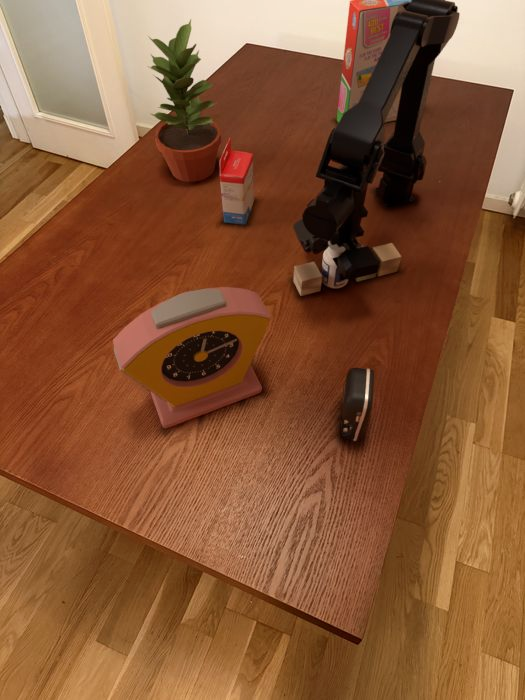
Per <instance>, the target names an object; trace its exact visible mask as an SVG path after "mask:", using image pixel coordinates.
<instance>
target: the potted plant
mask: <svg viewBox="0 0 525 700" xmlns="http://www.w3.org/2000/svg"><path fill="white" fill-rule="evenodd" d="M191 32H192V19H189V22H188V23H187V24H183V25H181V26H180V27H179V29H178V31H177V32H176V36H175V37H174V38H171V39H170V40H169V41H168V44H166V43H165V42H164V41H162V40H160V39H158V38H151V37H150V36H149V35H147V36H148V38H149V40H151V42H153V44H154V45H155V46H156V47H157V48H158V49H159V50H160V52H161V53H163V55H164V56H165V57H166V58H165V57H163V56H154V55H153V54H151V53H150V56H151V57H152V62H153V64H154V65H151V66H148V68H149V69H151V70H153V71H155V72H157V73H159V74H161V75H162V76H163V78H162V79H161V78H160V77H158V76H155V75H154V74H152V76H154V77H155V78H156V79H157V80H158V81H159V82H160V83H161V84H162V85H163V87H164V90H165V91H166V93H167V95H168V97H166V99H167V100H168V101H170V102H172V103H173V104H169V103H161V104H159V107H157V108H159V109H161V110H166V111H171V112H174V113H175V114H176V115H175V116H174V115H172V114H169V113H166V112H162V111H161V112H160V111H159V112H156V113H155V114H153V113H150V115H151V116H153V117H154V118H155V119H157V120H159V121H161V122H163V123H162V124H160V125H159V126H158V127H157V129H156V130H155V132H154V140H155V145H156V148H157V150H158V151H159V153H161V154H162V156H163V158H164V160H165V162H166V164H167V166H168V168H169V171H170V172H171V174H172V176H173V177H174V178H175V179H177V180H178V181H182V182H187V183H188V182H189V183H191V182H199V181H204V180H206V179H207V178H209V177H210V176H211V175H212V174H213V173H214V171H215V168H216V162H217V156H218V151H219V148H220V146H221V145H222V133H221V127H220V126H219V124H218V123H217V122H216V121H214V120H213V118H212V117H211V116H201V113H202V112H203V111H205V110H207V109H209V108H212V107H214V106H215V105H218V102H215V103H214V102H213V100H206V101H203V102H202V100H200V95H201V94H203V93H205V92H206V91H208V90H210V89H211V88H212V87H214V85H216V82H215V83H213V84H211V83H210V82H209V81H207V80H206V79H202V80H199V81H198V82H196V83H195V84H194V77H191V76H192V74H193V72H194V69H195V67H196V65H197V64H199V62H200V61H201V60H202V58H201V57H199V52H200V50H197V52H196V53H195V54H194V53H193V52H194V50H195V48H196V47H197V43H194V44H193V46H191V47H188V43H189V39H190V36H191ZM187 47H188V48H187ZM189 88H190V89H189Z"/></svg>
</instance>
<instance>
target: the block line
mask: <svg viewBox="0 0 525 700" xmlns="http://www.w3.org/2000/svg"><path fill="white" fill-rule="evenodd" d="M372 250H373V251H374V253H375V254H376V256H377V257H378V259H379V260H380V266H379V270H378V272H377V273H375V274H371V275H367V276H363V277H359V278H355V279H354V280H355V282H356V283H358V282H361V281H365V280H369V279H373V278H376V277H377V276H378V277H381V276H384V275H385V276H386V275H389V274H393V273H398V270H399V266H400V263H401V260H402V255H401V253H400V252H399V251H398V249H397V248H396V246H395V245H394V243H392V242H389V243H386V244H381V245H377V246H373V247H372ZM292 282H293V284H294V285H295V287H296V290H297V291H298V294H299V295H300V296H301V297H302V296H307V295H311V294H314V293H318V292H321V288H322V283H323V282H322V275H321V271H320V269H319V267H318V266H317V264H316V262H315V261H311V262H308V263H302V264H298V265H294V266H293V281H292Z"/></svg>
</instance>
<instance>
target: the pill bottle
mask: <svg viewBox="0 0 525 700" xmlns="http://www.w3.org/2000/svg"><path fill="white" fill-rule="evenodd" d="M328 244H329V247H328V248H327V249H326V250H324V251H323V254H322V261H321V271H320V273H321V275H322V282H321V283H322V284H323V285H324V286H326V287H328V288H331V289H340V288H343V287H344V286H346V285H347V284H348V282H349V280H348V279H346V280H343V281H340V280H339V269H338V268H337V266H336V264H335V262H334V261H333V259H332V258H335V257H338V256H340V255H341V254H342V253H343V252H344V250H345V248H344V246H343V247H338V246H337V244H335V245H331V243H330V241H329V242H328Z"/></svg>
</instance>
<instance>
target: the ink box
mask: <svg viewBox="0 0 525 700" xmlns="http://www.w3.org/2000/svg"><path fill="white" fill-rule="evenodd" d="M253 157H254V153H252V152H247V151H239V150H232V138H230V137H229V138H228V141H227V143H226V145H225V148H224V149H223V151H222V154H221V156H220V159H219V181H220V182H219V183H220V191H221V192H220V193H221V202H222V213H223V222H224V223H226V224H234V225H244V226H246V225H247V223H248V219H249V216H250V215H251V211H252V208H253V205H254V202H255V195H254V158H253Z"/></svg>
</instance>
